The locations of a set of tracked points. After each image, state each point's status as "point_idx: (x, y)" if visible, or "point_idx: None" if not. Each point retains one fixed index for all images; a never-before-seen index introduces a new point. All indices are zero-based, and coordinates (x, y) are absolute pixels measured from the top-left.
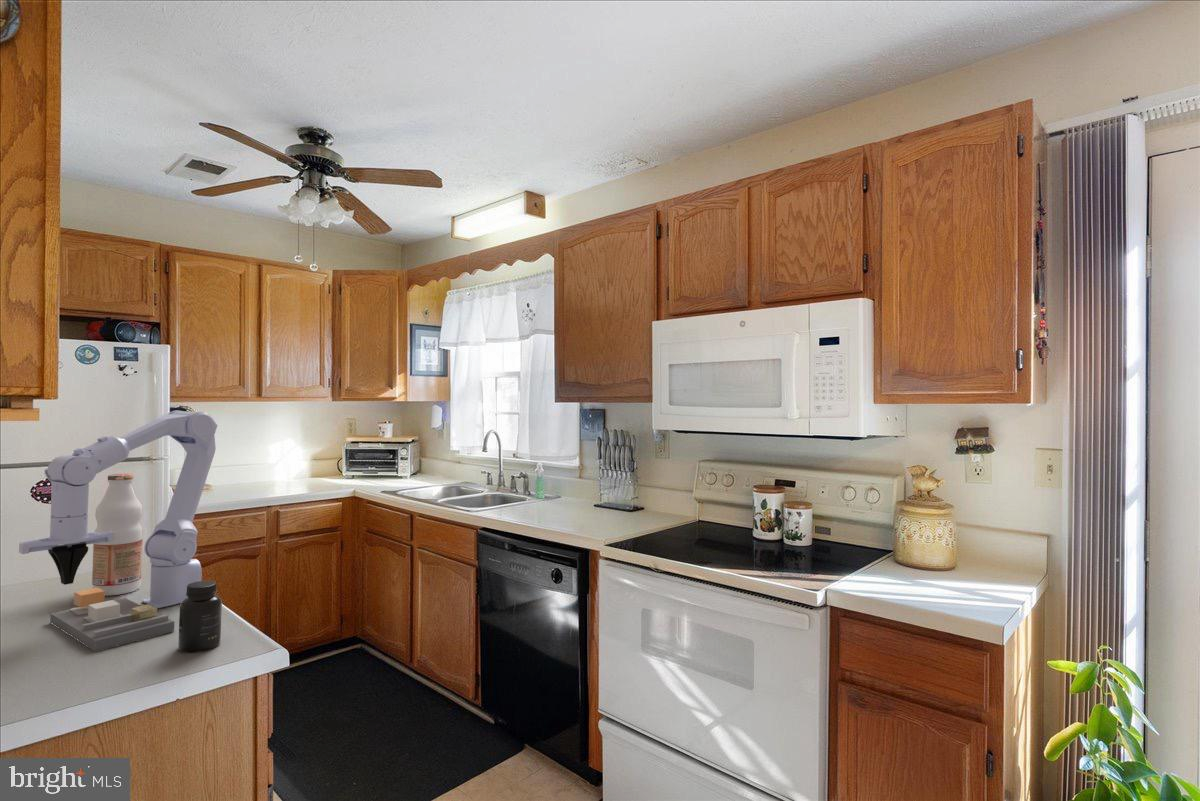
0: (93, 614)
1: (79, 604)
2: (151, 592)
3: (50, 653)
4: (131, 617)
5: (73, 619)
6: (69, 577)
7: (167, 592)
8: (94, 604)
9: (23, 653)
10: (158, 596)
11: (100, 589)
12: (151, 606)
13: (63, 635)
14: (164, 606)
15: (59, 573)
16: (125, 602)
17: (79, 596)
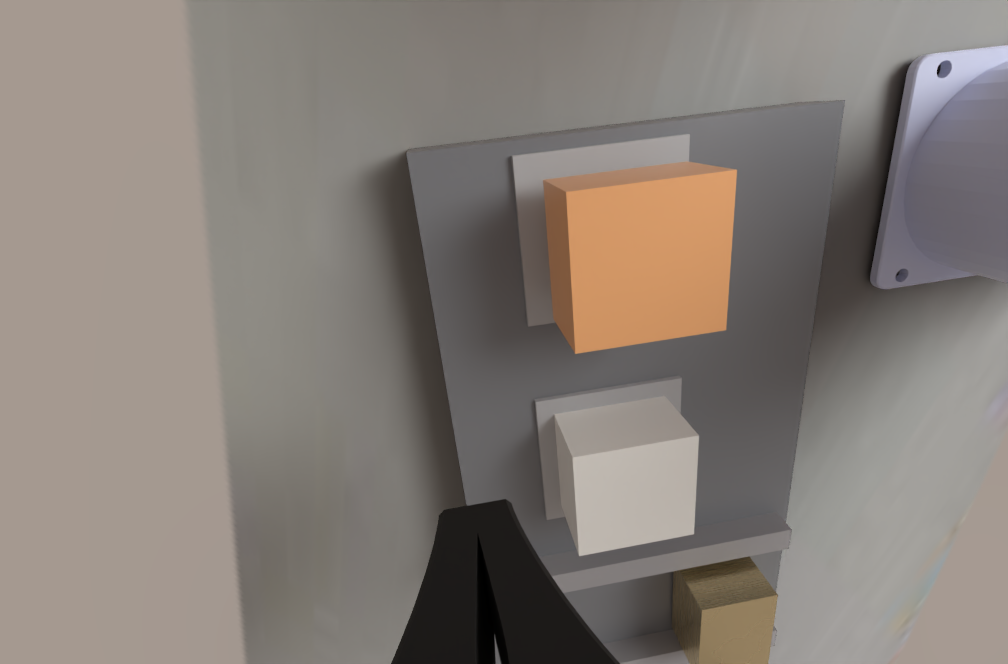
0: (566, 497)
1: (555, 294)
2: (969, 188)
3: (371, 605)
4: (679, 574)
5: (492, 389)
6: (494, 657)
7: (1002, 281)
8: (598, 469)
9: (283, 556)
10: (952, 244)
11: (725, 256)
12: (767, 630)
13: (437, 423)
14: (904, 284)
15: (423, 590)
16: (794, 219)
17: (569, 308)
